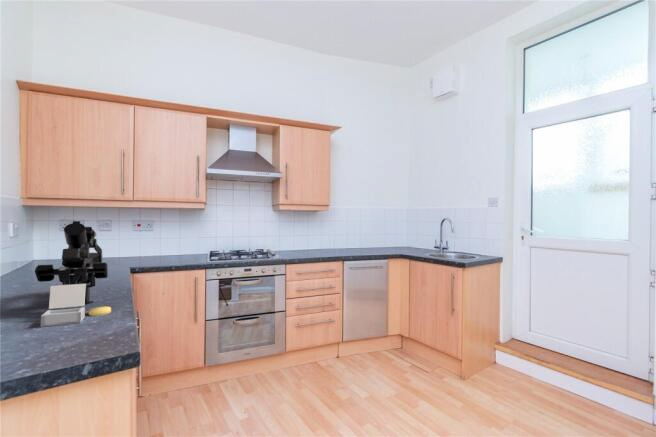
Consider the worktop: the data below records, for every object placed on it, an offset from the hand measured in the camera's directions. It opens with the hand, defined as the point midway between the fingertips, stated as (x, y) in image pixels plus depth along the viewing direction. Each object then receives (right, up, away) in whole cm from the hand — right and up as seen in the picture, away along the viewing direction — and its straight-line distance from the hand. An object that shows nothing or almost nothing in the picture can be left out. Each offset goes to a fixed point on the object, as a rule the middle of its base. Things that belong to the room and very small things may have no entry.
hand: (69, 293), depth 103 cm
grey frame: (+3, -7, -6) cm, 10 cm away
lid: (+1, 0, -2) cm, 2 cm away
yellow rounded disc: (+7, -7, +3) cm, 11 cm away
